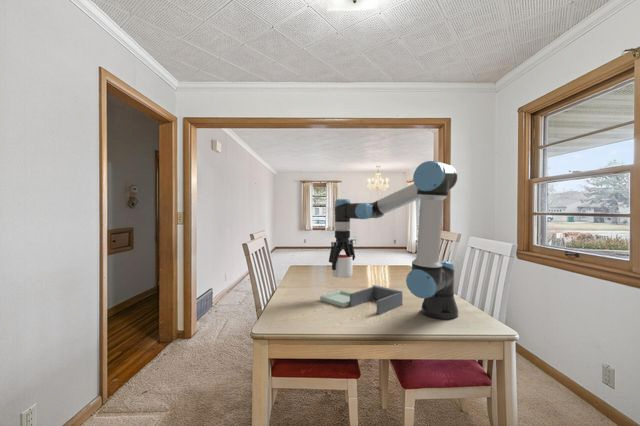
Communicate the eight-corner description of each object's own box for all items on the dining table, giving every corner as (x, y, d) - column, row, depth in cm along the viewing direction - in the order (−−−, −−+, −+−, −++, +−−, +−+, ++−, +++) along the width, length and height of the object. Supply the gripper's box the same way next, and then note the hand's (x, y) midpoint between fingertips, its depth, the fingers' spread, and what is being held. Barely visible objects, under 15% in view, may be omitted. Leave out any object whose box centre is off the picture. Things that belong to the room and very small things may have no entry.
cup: (352, 274, 164) (352, 254, 164) (352, 278, 155) (352, 258, 154) (332, 273, 165) (332, 254, 165) (331, 278, 156) (331, 257, 155)
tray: (365, 300, 160) (365, 296, 160) (344, 307, 149) (344, 303, 149) (341, 294, 172) (341, 290, 171) (320, 300, 160) (320, 296, 160)
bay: (402, 304, 152) (402, 290, 152) (379, 314, 139) (379, 299, 139) (373, 298, 164) (373, 284, 164) (349, 306, 150) (349, 292, 150)
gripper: (351, 228, 170) (351, 270, 171) (320, 231, 154) (321, 277, 155) (362, 229, 165) (362, 272, 165) (332, 232, 149) (332, 279, 149)
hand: (342, 274), depth 160 cm, fingers closed on cup, 10 cm apart
